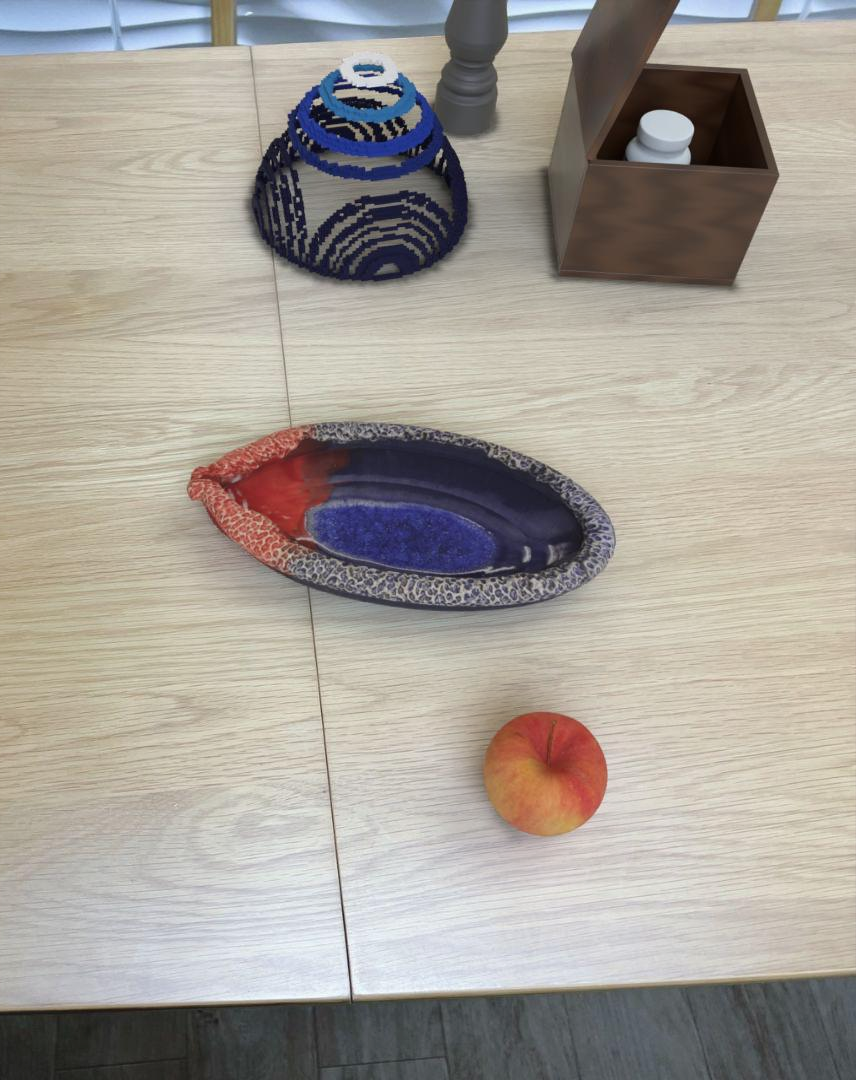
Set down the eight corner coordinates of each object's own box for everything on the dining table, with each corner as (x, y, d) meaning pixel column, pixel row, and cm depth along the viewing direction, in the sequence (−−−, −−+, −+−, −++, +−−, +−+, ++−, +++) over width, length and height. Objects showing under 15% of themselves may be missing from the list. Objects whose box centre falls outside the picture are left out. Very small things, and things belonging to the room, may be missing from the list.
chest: (706, 180, 108) (747, 68, 98) (731, 287, 99) (780, 175, 89) (547, 171, 108) (573, 58, 98) (558, 276, 99) (588, 164, 89)
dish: (597, 664, 75) (615, 627, 71) (167, 584, 78) (161, 544, 74) (608, 492, 84) (624, 450, 80) (221, 426, 87) (218, 382, 83)
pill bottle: (663, 244, 100) (696, 150, 92) (602, 230, 101) (629, 136, 93) (672, 208, 104) (705, 113, 96) (612, 194, 105) (639, 100, 97)
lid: (671, -137, 85) (663, -140, 85) (700, -36, 76) (691, -39, 76) (577, 55, 98) (570, 53, 98) (593, 161, 89) (585, 159, 89)
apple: (485, 861, 67) (507, 811, 61) (464, 751, 71) (483, 694, 65) (602, 851, 68) (636, 800, 61) (574, 742, 72) (603, 684, 65)
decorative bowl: (495, 264, 100) (523, 122, 88) (280, 295, 96) (280, 153, 85) (430, 136, 111) (447, -5, 99) (236, 160, 108) (230, 18, 96)
